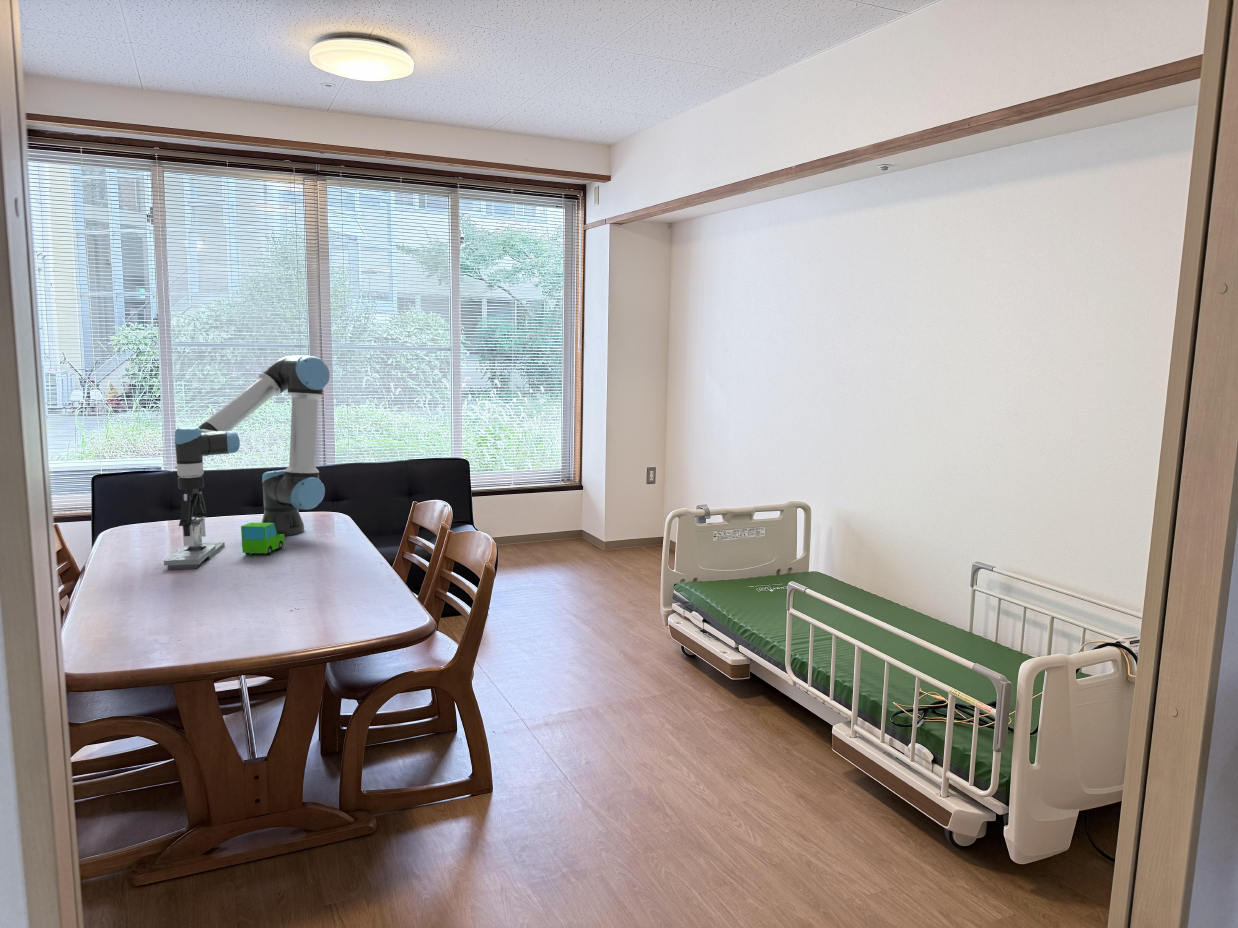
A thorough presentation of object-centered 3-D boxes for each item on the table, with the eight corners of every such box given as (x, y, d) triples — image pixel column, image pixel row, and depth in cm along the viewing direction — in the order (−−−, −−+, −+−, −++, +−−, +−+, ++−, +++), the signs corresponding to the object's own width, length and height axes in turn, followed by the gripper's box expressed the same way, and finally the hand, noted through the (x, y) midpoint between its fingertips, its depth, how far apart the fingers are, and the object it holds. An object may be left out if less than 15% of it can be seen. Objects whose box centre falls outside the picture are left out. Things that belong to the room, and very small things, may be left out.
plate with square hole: (224, 546, 293) (224, 537, 292) (199, 568, 263) (198, 559, 263) (193, 547, 291) (192, 539, 290) (164, 570, 262) (163, 560, 261)
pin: (207, 555, 280) (205, 516, 279) (203, 559, 275) (200, 519, 273) (189, 556, 279) (186, 516, 277) (184, 560, 274) (181, 520, 272)
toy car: (289, 547, 292) (287, 518, 290) (269, 556, 279) (267, 526, 277) (260, 546, 293) (258, 518, 291) (239, 556, 280) (237, 526, 278)
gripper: (189, 470, 285) (193, 533, 288) (165, 482, 261) (170, 550, 263) (213, 470, 286) (217, 532, 289) (191, 481, 262) (196, 549, 265)
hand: (195, 541), depth 276 cm, fingers open, 13 cm apart
